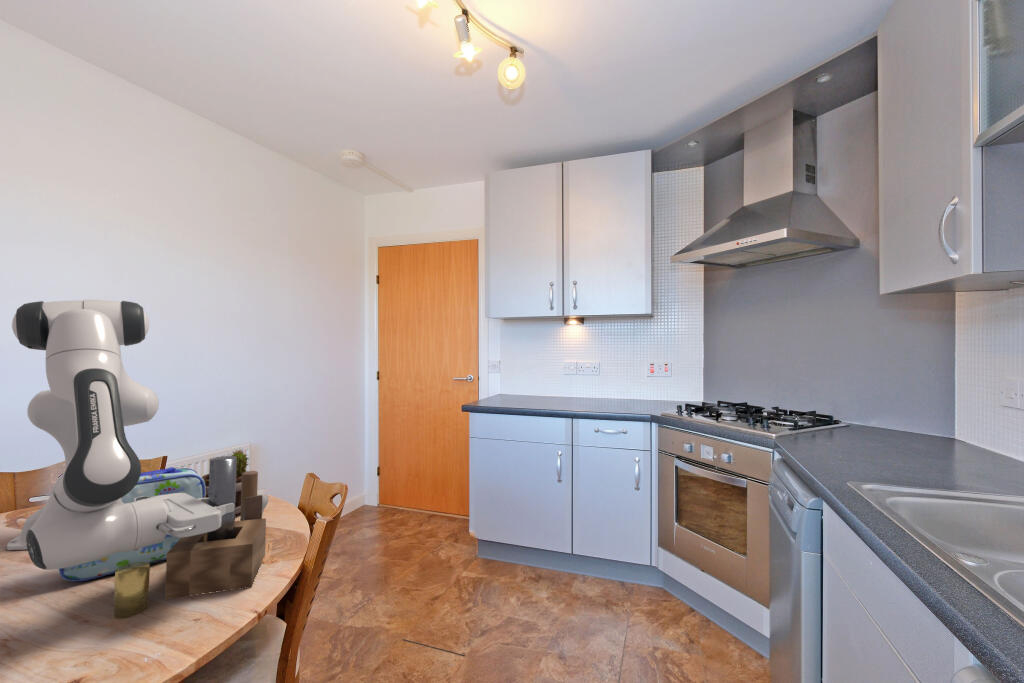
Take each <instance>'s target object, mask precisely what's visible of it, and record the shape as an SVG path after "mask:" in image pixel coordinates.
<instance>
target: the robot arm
mask: <svg viewBox="0 0 1024 683" xmlns="http://www.w3.org/2000/svg"><path fill="white" fill-rule="evenodd" d="M11 326H12V327H11V328H12V331H13V335H14V337H15V338H16V339H17V340H18V342H19V344H20V345H21V346H23V347H24V348H25V347H26V348H27V349H30V350H37V351H45V374H46V378H47V383H48V387H49V389H47V390H42V391H41V390H40V391H39V392H38V393H37V394H35V395H34V397H32V399H31V400H30V401H29V403H28V406H27V409H26V410H27V412H26V414H27V418H28V419H29V422H31V424H32V425H33V426H35V427H36V428H37V429H39V430H42V431H44V432H45V433H48V434H49V435H50V436H52V437H53V438H54V439H55V441H57V442H58V444H59V445H60V447H61V449H62V451H63V453H64V460H65V470H64V472H63V473H61V475H60V476H59V478H58V479H56V482H54V485H53V487H52V490H51V493H50V496H49V498H48V500H47V503H46V504H45V505H44V506H42V507H41V508H40V509H38V510H37V511H35V512H34V513H32V514H31V515H30V516H28V517H27V519H26V520H25V521H24V523H23V525H22V528H21V532H20V534H19V535H18V536H16V537H14V538H13V539H12V538H11V540H10V541H9V542H8V543H7V545H6V550H7V551H18V550H19V551H20V550H27V554H28V556H29V558H30V560H31V561H32V563H33V564H34V566H35V567H36V568H39V569H41V570H44V571H45V570H46V571H47V570H48V571H51V570H58V569H61V568H67V567H72V566H76V565H80V564H84V563H88V562H92V561H96V560H99V559H102V558H104V557H106V556H108V555H110V554H113V553H117V552H127V551H132V550H136V549H139V548H143V547H146V546H150V545H154V544H157V543H161V542H162V541H163V540H164V538H165V536H166V535H169V534H171V535H173V536H174V537H177V538H184V537H190V536H194V535H199V534H203V533H207V532H211V531H215V530H217V529H219V528H220V527H221V520H222V515H224V514H226V513H229V512H233V511H234V506H235V505H234V503H231V502H228V503H224V504H223V505H221V506H219V507H216V506H215V507H212V506H210V505H208V499H209V498H198V499H196V498H194V497H192V496H190V495H188V494H186V493H172V494H165V495H159V496H153V497H148V496H141V497H136V498H135V499H134V502H131V503H126V504H124V503H123V502H122V500H121V498H122V497H123V496H125V495H126V494H128V493H129V492H130V491H131V490H132V489H133V488H134V487H135V485H136V484H137V482H138V480H139V478H140V475H141V473H142V464H141V461H140V459H139V456H138V455H137V454H136V452H135V451H134V449H133V448H132V446H131V444H130V443H129V442H128V439H127V436H126V433H125V427H129V426H133V425H139V424H142V423H148V422H150V421H151V420H152V419H153V418H154V417H155V415H157V412H158V410H159V406H160V403H159V402H160V401H159V397H158V396H157V394H156V393H155V391H153V389H151V388H149V387H147V386H145V385H142V384H140V383H138V382H136V381H135V380H134V379H133V378H131V377H130V375H129V374H128V373H127V372H126V371H125V368H124V364H123V359H122V354H121V353H122V351H121V350H122V349H121V346H125V347H127V346H128V347H129V346H133V345H137V344H140V343H141V342H143V341H144V340H146V336H147V334H148V332H149V329H150V320H149V316H148V314H147V312H146V311H145V310H144V307H143V306H142V305H140V304H139V303H137V302H132V301H126V300H121V301H113V300H102V299H83V300H59V301H48V302H47V301H46V302H44V301H43V300H40V301H39V300H38V301H34V302H27V303H24V304H22V305H21V306H19V307H18V308H17V309H16V312H15V314H14V316H13V318H12V322H11Z"/></svg>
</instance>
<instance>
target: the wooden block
mask: <svg viewBox="0 0 1024 683" xmlns="http://www.w3.org/2000/svg"><path fill="white" fill-rule="evenodd" d="M258 475H259V472H258V470H246V471H245V472H244V473H242V486H241V514H240V520H239V521H244V520H254V519H263V514H262V498H263V496H262V495H258V496H257V489H258V480H259V479H258V478H259V477H258Z"/></svg>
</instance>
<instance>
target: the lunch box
mask: <svg viewBox="0 0 1024 683" xmlns="http://www.w3.org/2000/svg"><path fill="white" fill-rule="evenodd" d="M172 493H186V494H188V495H190V496H192V497H194V498H196V499H198V498H205V496H206V487H205V482H204V480H203V478H202V475H200V474H199V473H198V472H197V471H196V470H195V469H192V468H187V467H181V468H175V467H174V466H171V467H168V468H164V469H163V468H162V469H155V470H151V471H146V472H141V475H140V478H139V480H138V482H137V484H136V485H135V487H134V488H133V489H132V490H131V491H130V492H129V493H128V494H126V495H125V496H123V497H122V498H121V500H122V502H123V503H124V504H126V503H131V502H134V499H135V498H136V497H141V496H148V497H153V496H159V495H165V494H172ZM180 539H181V538H177V537H174V536H173V535H171V534H169V535H166V536H165V538H164V540H163V541H162V542H161V543H157V544H154V545H150V546H146V547H143V548H139V549H136V550H132V551H127V552H117V553H113V554H110V555H108V556H106V557H104V558H102V559H99V560H96V561H92V562H88V563H84V564H80V565H76V566H72V567H67V568H61V569H57V570H58V573H59V576H60V577H61V578H62V579H63V580H64V581H65V580H66V581H67V582H84V581H85V582H86V581H89V580H93V579H97V578H100V577H102V578H103V577H104V576H107V575H112V574H115V571H116V570H117V569H118V568H120V567H122V566H124V565H127V564H131V563H135V562H149V563H150V564H153V563H157V562H162V561H167V553H168V552H169V550H170V549H171V548H172V547H173V546H174V545H175V544H176V543H177V542H178V541H179V540H180Z"/></svg>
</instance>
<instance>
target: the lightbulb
mask: <svg viewBox="0 0 1024 683" xmlns="http://www.w3.org/2000/svg"><path fill="white" fill-rule="evenodd" d="M258 495H262V496H263V498H262V515H263V514H264V510H265V509H266V507H267V505H268V503H269V495H268V493H267V492H266V491H265V490H263V489H260V488H257V496H258Z"/></svg>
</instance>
